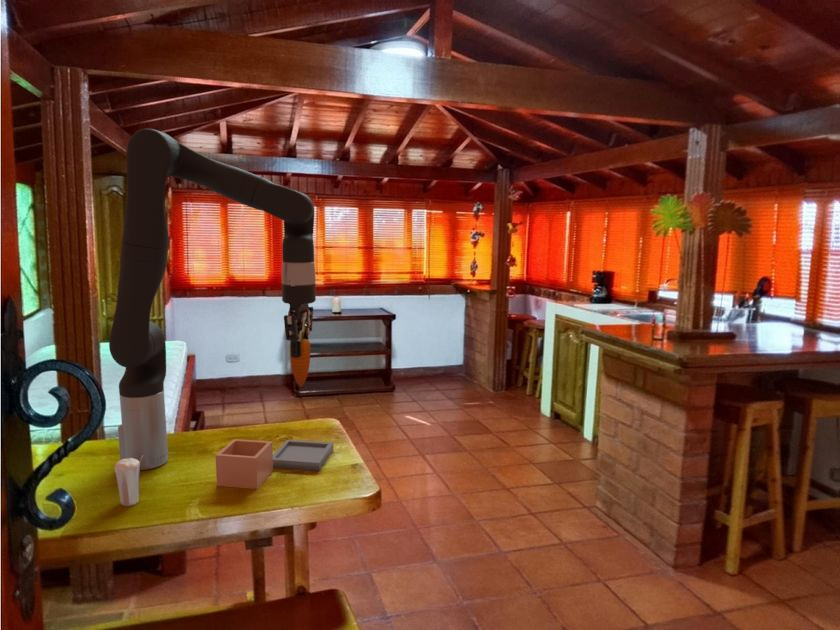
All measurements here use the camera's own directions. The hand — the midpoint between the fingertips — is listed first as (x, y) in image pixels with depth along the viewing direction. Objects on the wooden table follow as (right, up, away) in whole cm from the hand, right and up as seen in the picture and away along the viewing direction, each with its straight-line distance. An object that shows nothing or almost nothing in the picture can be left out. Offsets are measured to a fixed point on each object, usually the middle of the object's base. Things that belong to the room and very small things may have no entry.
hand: (299, 353), depth 136 cm
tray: (0, -25, +5) cm, 26 cm away
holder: (-11, -27, -6) cm, 30 cm away
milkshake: (-30, -29, -18) cm, 46 cm away
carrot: (0, -8, +1) cm, 8 cm away
